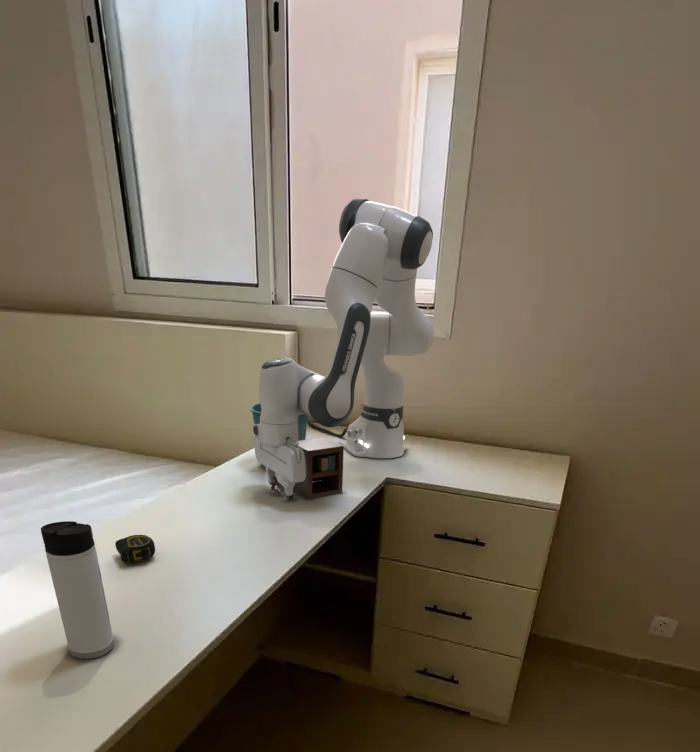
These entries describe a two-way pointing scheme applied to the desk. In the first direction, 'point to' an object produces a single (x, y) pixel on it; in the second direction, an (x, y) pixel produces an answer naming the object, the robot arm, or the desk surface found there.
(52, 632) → the desk surface
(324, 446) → the shelf
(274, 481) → the hinged wooden rods
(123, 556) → the tape measure
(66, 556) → the travel mug
